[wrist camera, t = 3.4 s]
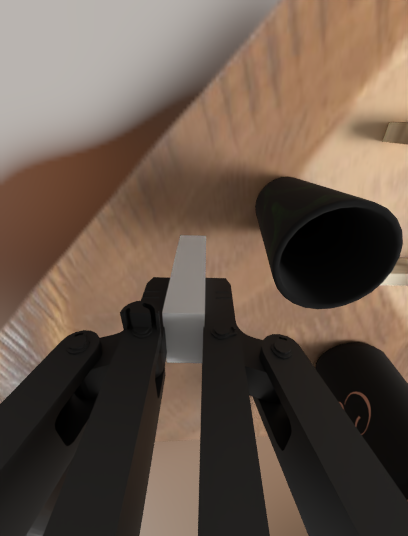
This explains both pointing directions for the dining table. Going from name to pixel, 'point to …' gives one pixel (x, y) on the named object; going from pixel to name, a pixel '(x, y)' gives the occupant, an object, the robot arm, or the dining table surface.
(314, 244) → the cup
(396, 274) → the bay
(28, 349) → the dining table surface
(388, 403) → the coffee jar
